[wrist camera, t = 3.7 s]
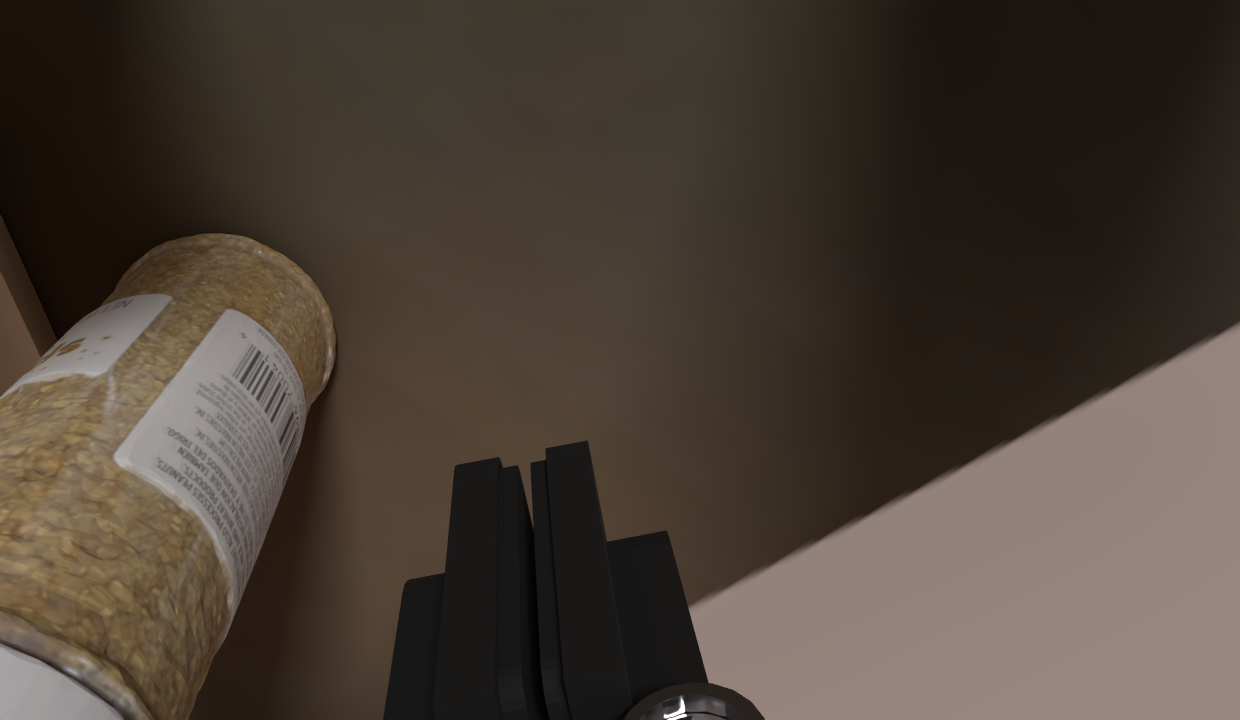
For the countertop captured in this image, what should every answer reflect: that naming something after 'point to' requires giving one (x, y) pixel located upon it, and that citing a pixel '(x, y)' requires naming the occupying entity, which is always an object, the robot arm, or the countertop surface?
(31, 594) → the sprinkles bottle
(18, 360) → the bottle rest
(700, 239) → the countertop surface
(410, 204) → the countertop surface
